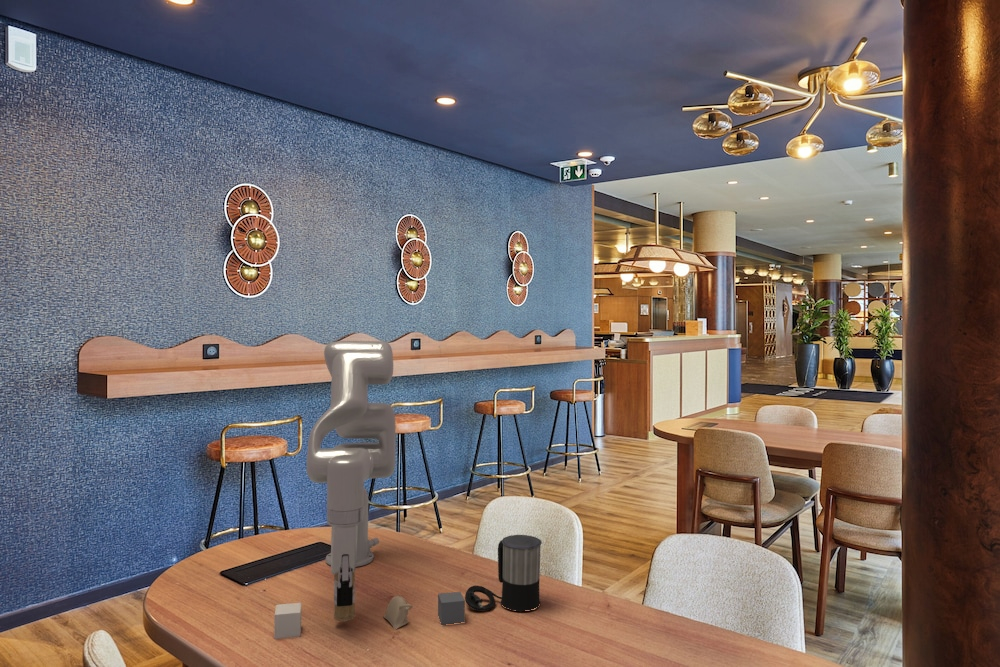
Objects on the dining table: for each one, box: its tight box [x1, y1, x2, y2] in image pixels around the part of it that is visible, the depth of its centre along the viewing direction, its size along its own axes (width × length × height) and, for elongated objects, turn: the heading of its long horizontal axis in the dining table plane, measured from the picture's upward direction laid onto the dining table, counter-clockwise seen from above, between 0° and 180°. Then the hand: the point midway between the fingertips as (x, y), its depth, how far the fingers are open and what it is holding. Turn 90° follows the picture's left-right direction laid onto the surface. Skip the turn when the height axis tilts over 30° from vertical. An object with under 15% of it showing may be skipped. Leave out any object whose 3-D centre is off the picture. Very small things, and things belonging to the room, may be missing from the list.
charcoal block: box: [437, 591, 466, 626], centre depth 145 cm, size 5×5×5 cm
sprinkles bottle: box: [333, 555, 356, 622], centre depth 141 cm, size 5×5×13 cm
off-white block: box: [273, 602, 302, 640], centre depth 138 cm, size 5×5×5 cm
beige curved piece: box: [383, 595, 413, 630], centre depth 143 cm, size 4×8×5 cm, turn 29°
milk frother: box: [464, 534, 543, 612], centre depth 153 cm, size 14×16×15 cm
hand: (344, 599), depth 142 cm, fingers closed on sprinkles bottle, 4 cm apart
